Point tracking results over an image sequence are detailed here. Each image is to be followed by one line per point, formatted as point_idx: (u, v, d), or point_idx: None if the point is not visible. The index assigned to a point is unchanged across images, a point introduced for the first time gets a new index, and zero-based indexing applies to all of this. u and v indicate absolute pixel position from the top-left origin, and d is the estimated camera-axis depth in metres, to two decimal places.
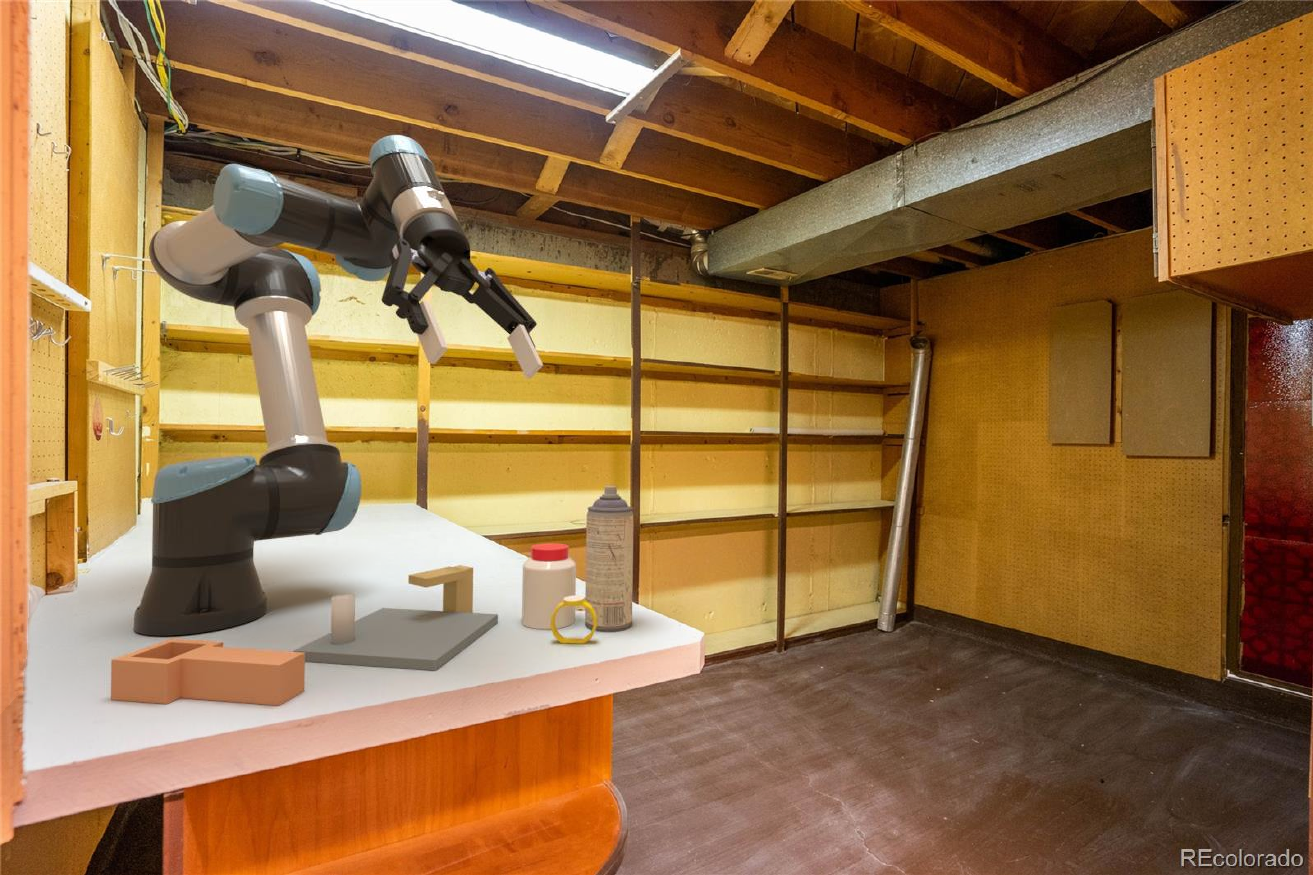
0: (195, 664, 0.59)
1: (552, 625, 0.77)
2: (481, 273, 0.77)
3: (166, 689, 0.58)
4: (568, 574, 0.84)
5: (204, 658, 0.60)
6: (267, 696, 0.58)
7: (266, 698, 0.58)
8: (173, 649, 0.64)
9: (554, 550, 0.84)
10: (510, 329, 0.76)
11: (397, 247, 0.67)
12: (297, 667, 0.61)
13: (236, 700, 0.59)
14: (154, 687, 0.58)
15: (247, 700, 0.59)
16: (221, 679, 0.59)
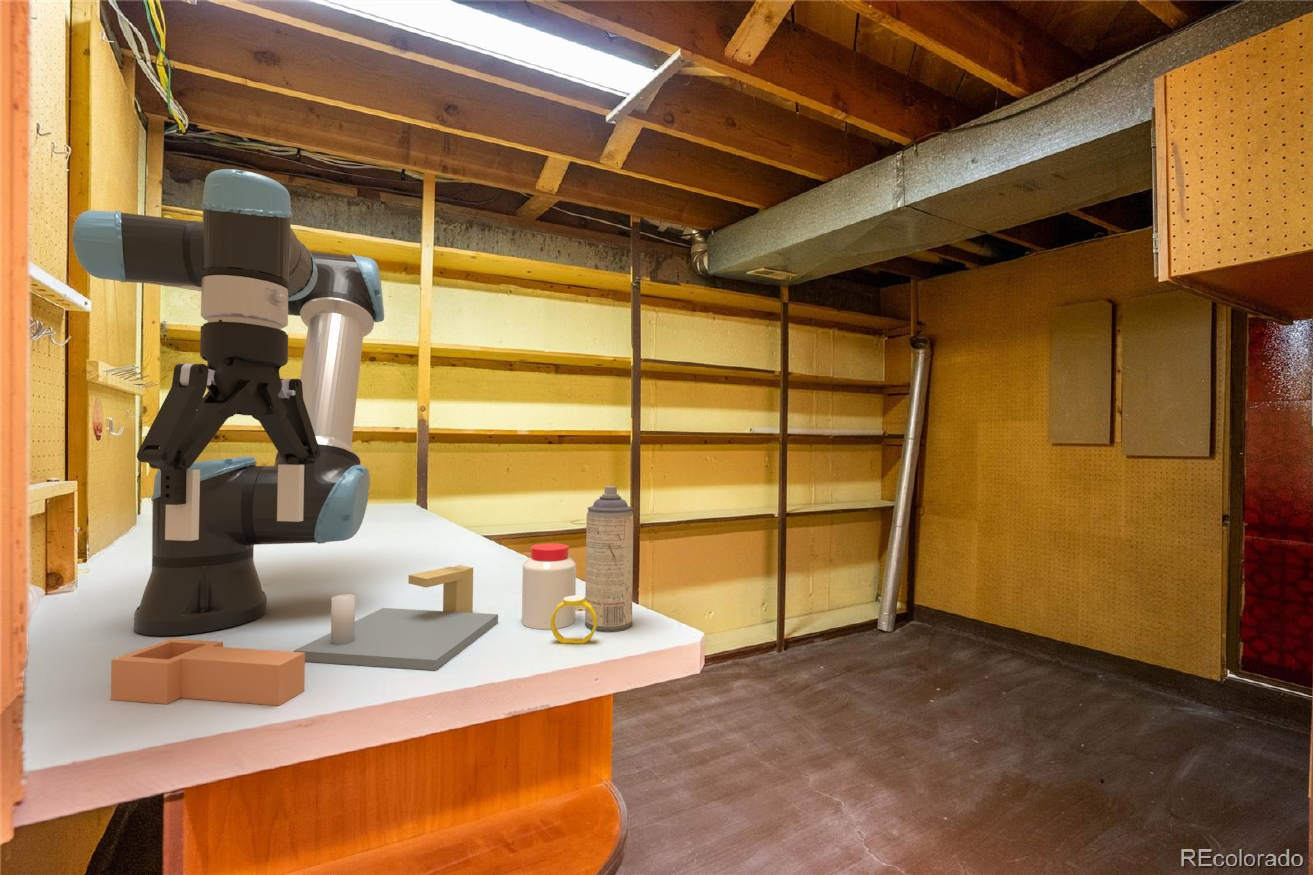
0: (195, 664, 0.59)
1: (552, 625, 0.77)
2: (285, 383, 0.66)
3: (166, 689, 0.58)
4: (568, 574, 0.84)
5: (204, 658, 0.60)
6: (267, 696, 0.58)
7: (266, 698, 0.58)
8: (173, 649, 0.64)
9: (554, 550, 0.84)
10: (286, 455, 0.68)
11: (190, 374, 0.54)
12: (297, 667, 0.61)
13: (236, 700, 0.59)
14: (154, 687, 0.58)
15: (247, 700, 0.59)
16: (221, 679, 0.59)
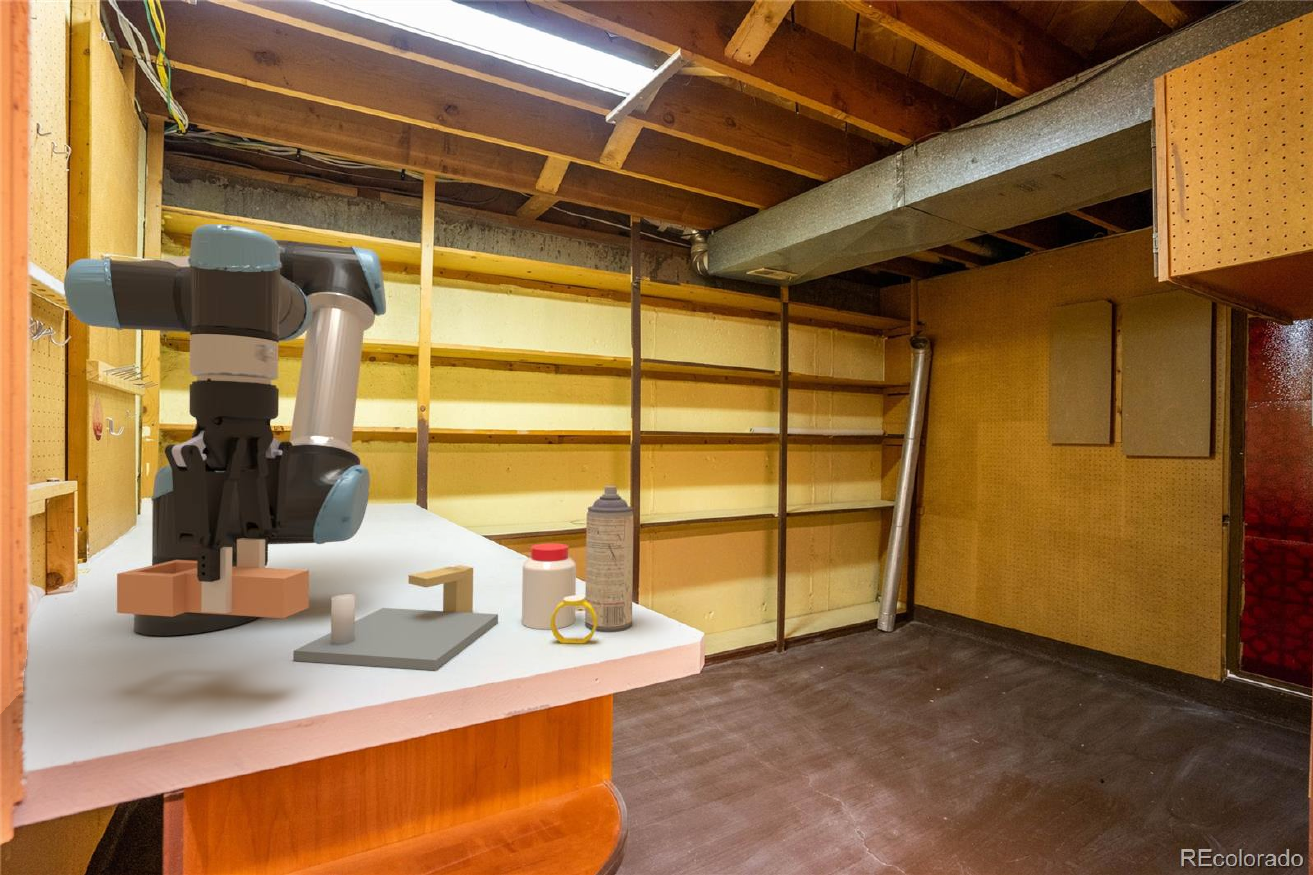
0: None
1: (552, 625, 0.77)
2: (275, 442, 0.66)
3: (172, 602, 0.59)
4: (568, 574, 0.84)
5: None
6: (272, 609, 0.59)
7: (271, 611, 0.59)
8: (178, 569, 0.65)
9: (554, 550, 0.84)
10: (246, 528, 0.64)
11: (184, 459, 0.55)
12: (301, 583, 0.61)
13: (241, 613, 0.59)
14: (160, 600, 0.59)
15: (252, 613, 0.59)
16: None
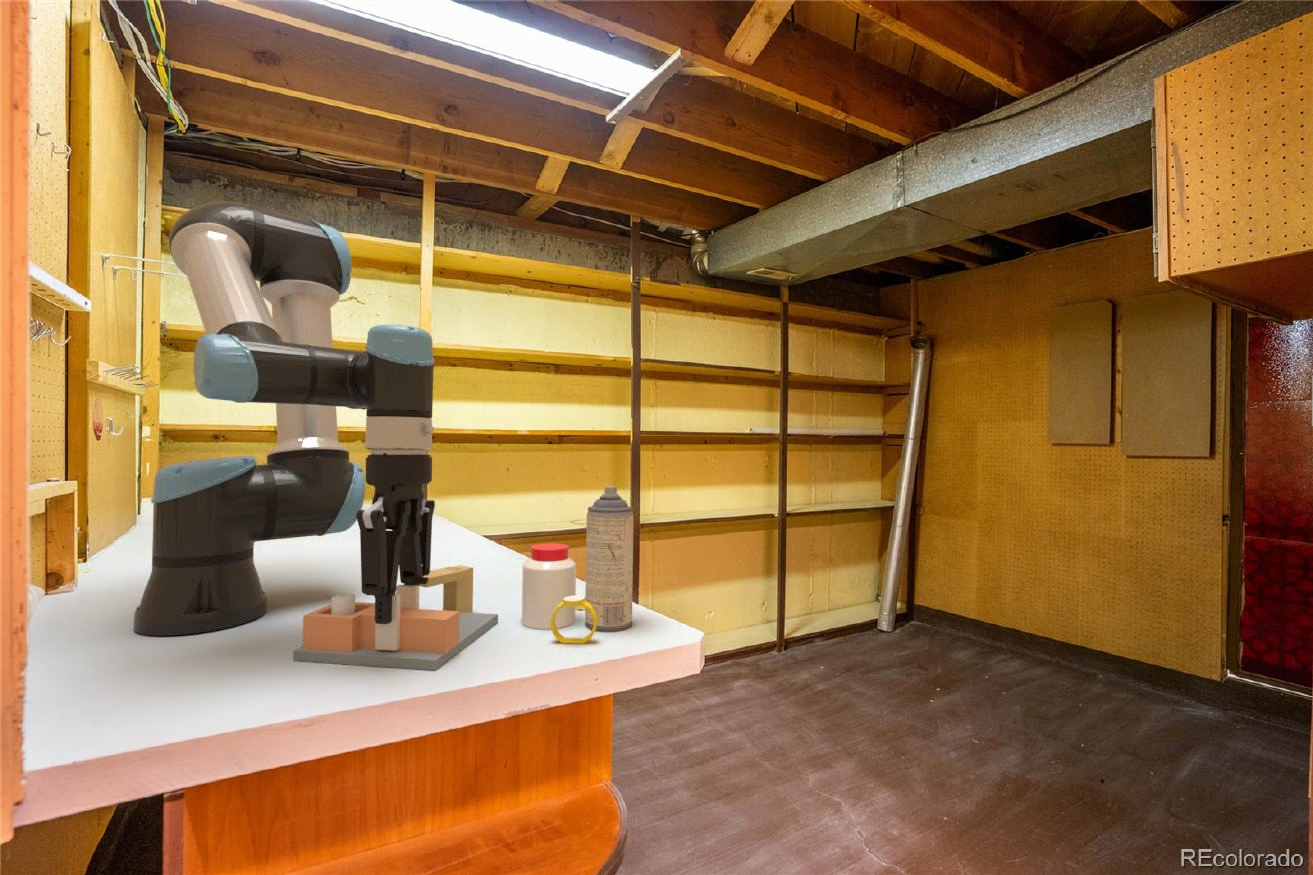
0: (372, 619, 0.71)
1: (552, 625, 0.77)
2: (423, 501, 0.77)
3: (351, 640, 0.69)
4: (568, 574, 0.84)
5: None
6: (435, 646, 0.70)
7: (434, 647, 0.70)
8: None
9: (554, 550, 0.84)
10: (403, 576, 0.75)
11: (372, 522, 0.66)
12: (455, 623, 0.72)
13: (408, 649, 0.70)
14: (341, 638, 0.70)
15: (418, 649, 0.70)
16: None
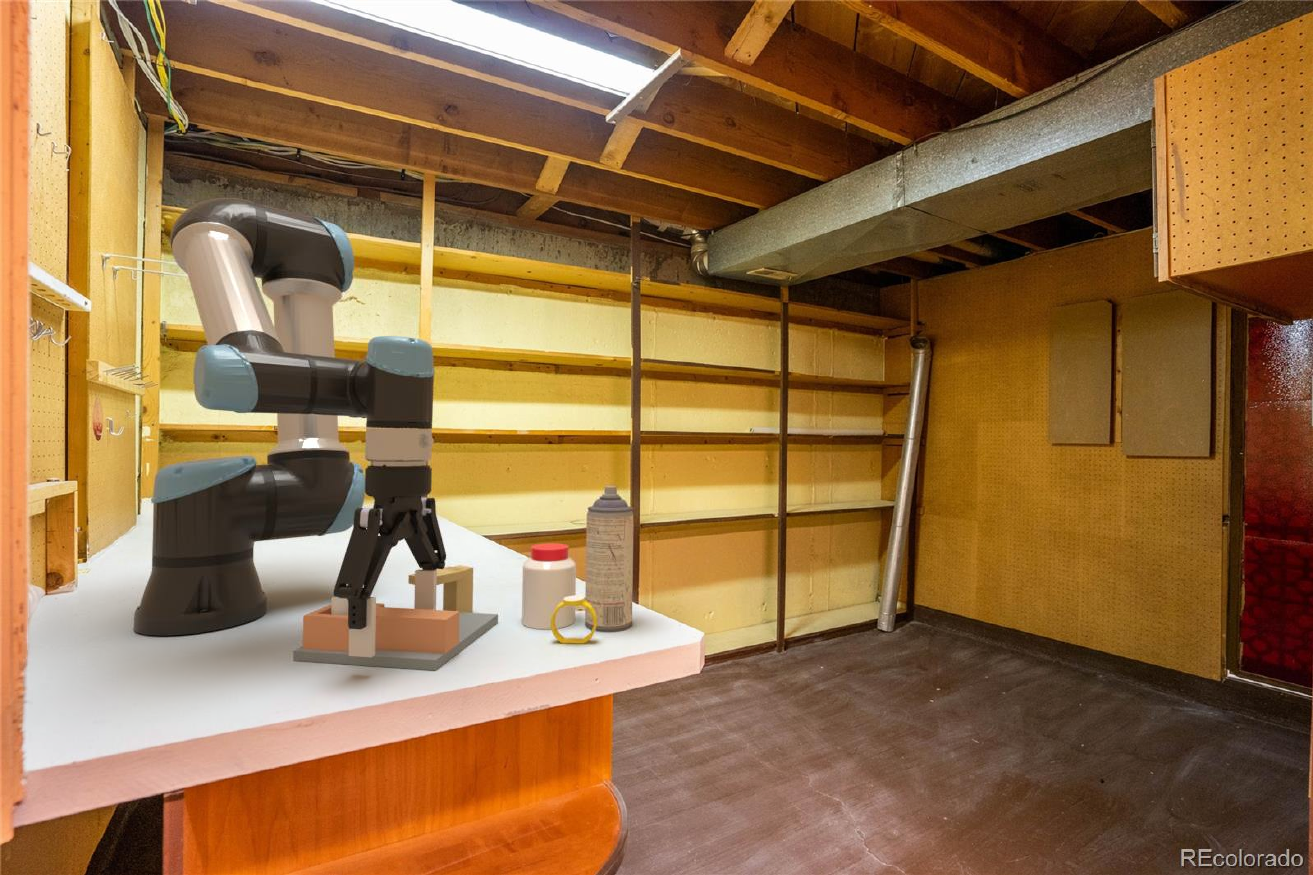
0: None
1: (552, 625, 0.77)
2: (423, 503, 0.77)
3: None
4: (568, 574, 0.84)
5: (379, 614, 0.71)
6: (435, 646, 0.70)
7: (434, 647, 0.70)
8: None
9: (554, 550, 0.84)
10: (421, 561, 0.79)
11: (368, 518, 0.65)
12: (455, 623, 0.72)
13: (408, 649, 0.70)
14: (341, 638, 0.70)
15: (418, 649, 0.70)
16: (395, 632, 0.70)
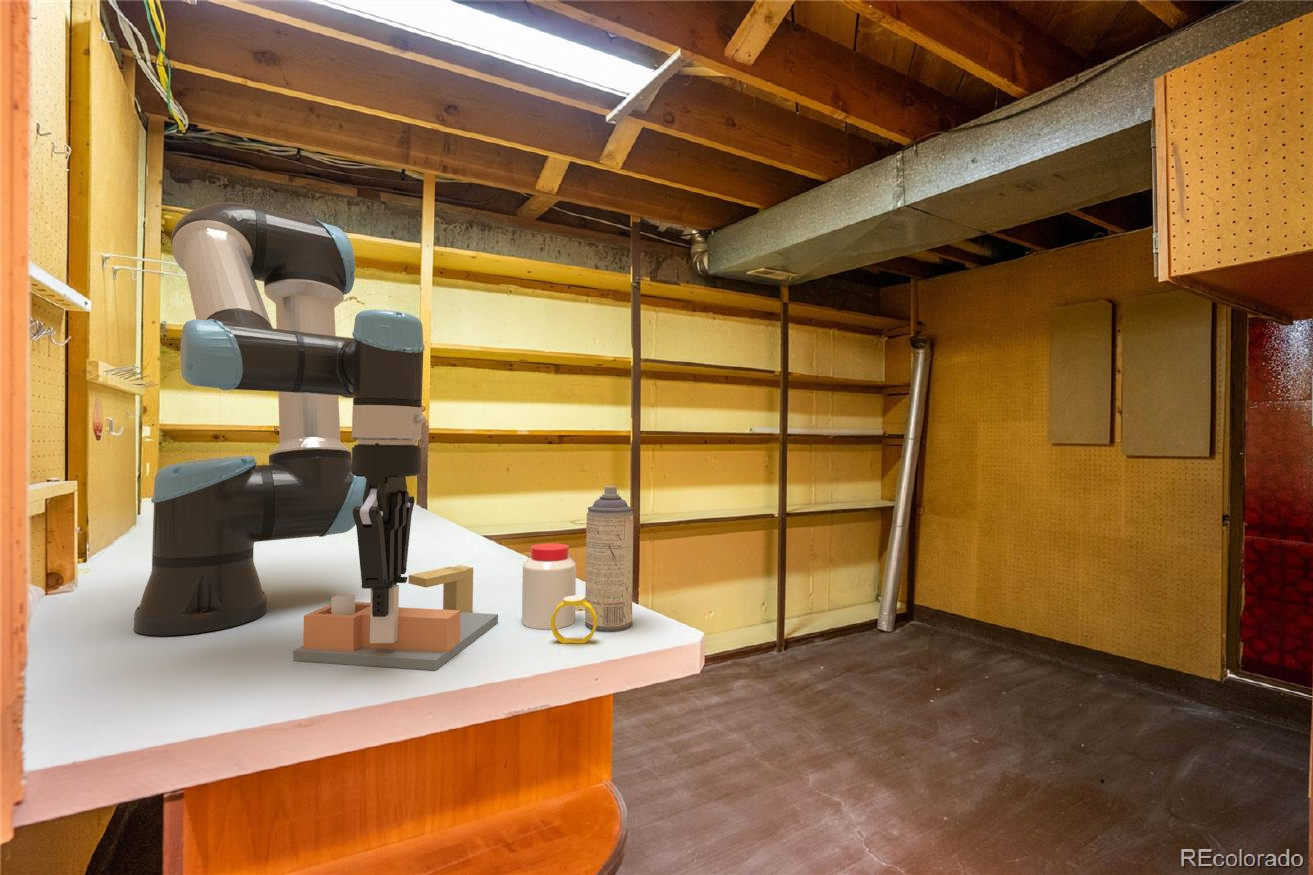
0: None
1: (552, 625, 0.77)
2: None
3: (352, 639, 0.70)
4: (568, 574, 0.84)
5: None
6: (437, 644, 0.70)
7: (436, 646, 0.70)
8: None
9: (554, 550, 0.84)
10: None
11: (370, 519, 0.64)
12: (456, 622, 0.72)
13: (409, 648, 0.70)
14: (342, 638, 0.70)
15: (419, 648, 0.70)
16: None
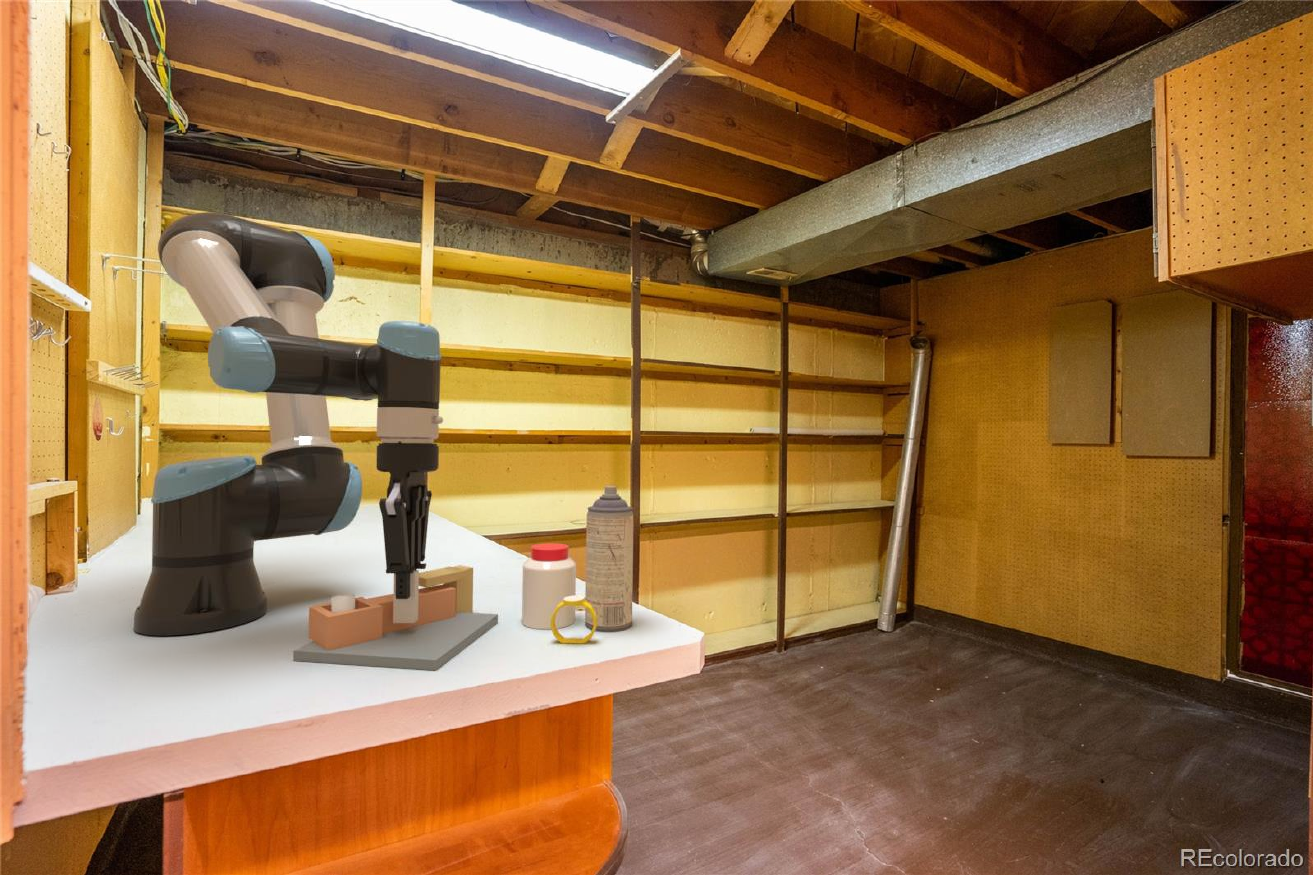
0: (390, 605, 0.77)
1: (552, 625, 0.77)
2: None
3: (381, 626, 0.75)
4: (568, 574, 0.84)
5: None
6: (447, 612, 0.83)
7: (446, 614, 0.83)
8: None
9: (554, 550, 0.84)
10: None
11: (395, 509, 0.71)
12: None
13: (424, 622, 0.80)
14: (371, 628, 0.74)
15: (432, 619, 0.81)
16: None
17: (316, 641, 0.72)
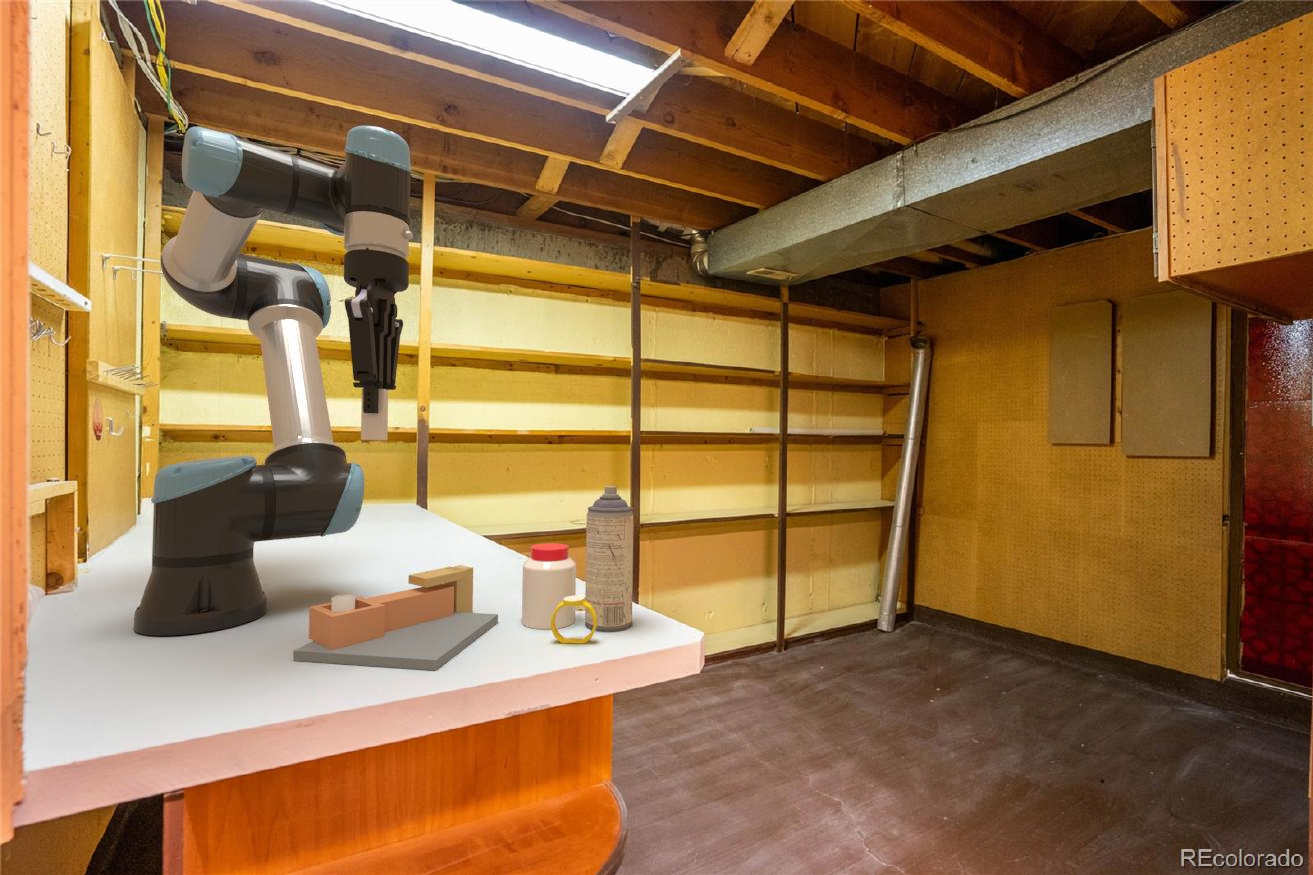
0: (391, 604, 0.77)
1: (552, 625, 0.77)
2: None
3: (383, 625, 0.75)
4: (568, 574, 0.84)
5: (393, 599, 0.78)
6: (446, 611, 0.84)
7: (445, 612, 0.84)
8: None
9: (554, 550, 0.84)
10: None
11: (361, 310, 0.69)
12: None
13: (423, 621, 0.81)
14: (373, 627, 0.74)
15: (432, 618, 0.82)
16: (412, 609, 0.80)
17: (318, 641, 0.72)
